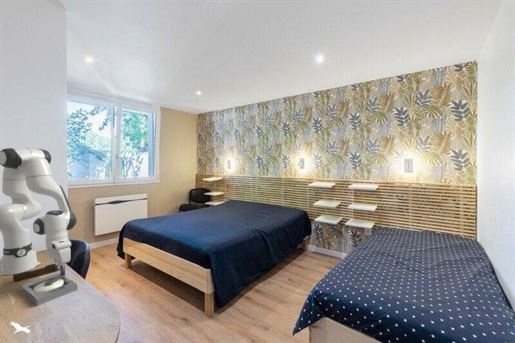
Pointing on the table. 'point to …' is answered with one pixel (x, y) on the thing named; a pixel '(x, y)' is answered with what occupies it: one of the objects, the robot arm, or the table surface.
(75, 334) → the table surface
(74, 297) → the table surface
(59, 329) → the table surface
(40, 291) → the crank
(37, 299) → the panel
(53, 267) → the hand tool
